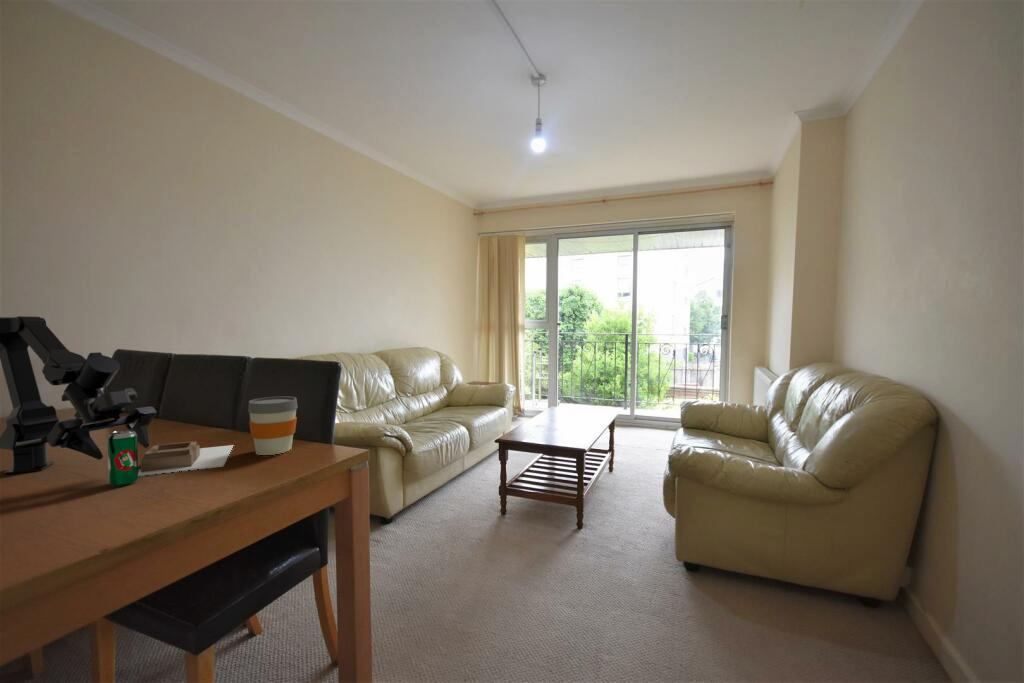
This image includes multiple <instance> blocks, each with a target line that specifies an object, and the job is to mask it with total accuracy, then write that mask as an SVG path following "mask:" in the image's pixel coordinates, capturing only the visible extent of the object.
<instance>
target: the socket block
mask: <svg viewBox="0 0 1024 683" xmlns="http://www.w3.org/2000/svg"><path fill="white" fill-rule="evenodd" d="M200 445H201V444H198V440H195V441H193V440H191V441H184V442H183V441H182V442H181V441H180V442H173V443H172V442H171V443H163V444H162V443H161V444H154V445H153V446H152V447H151V448H150V449H148V450H147V451H146V452H145V453H143V458H141V459H140V468H141V472H144V471H145V472H146V471H155V470H163V469H172V468H181V467H189V466H192V465H193V464H194V462H195V461H196V460H197V458H198V457H199V456H200Z"/></svg>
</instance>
